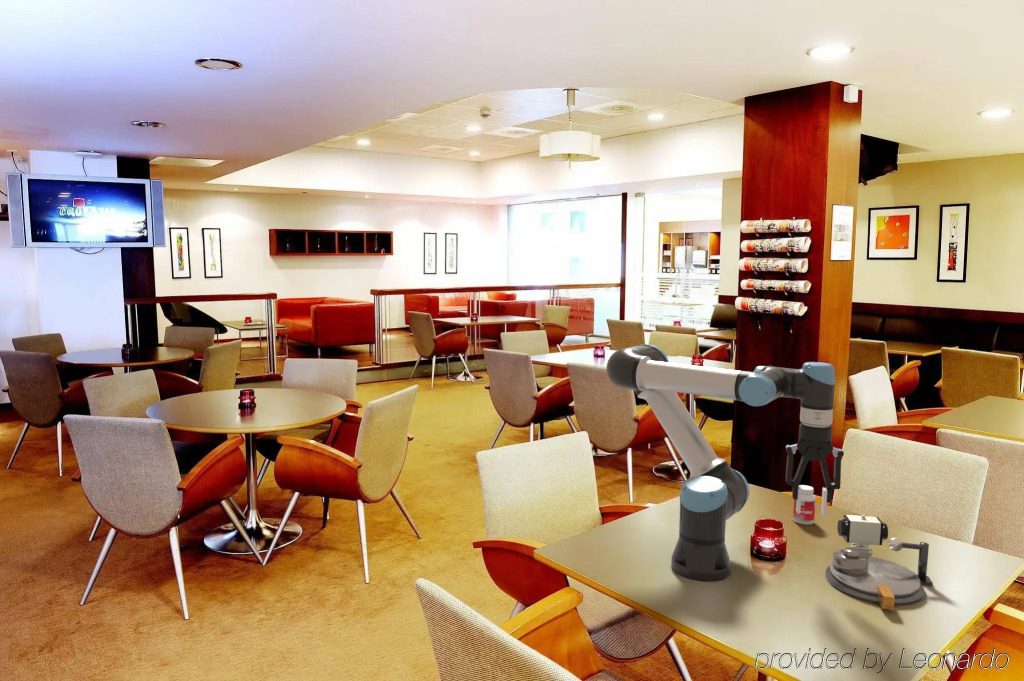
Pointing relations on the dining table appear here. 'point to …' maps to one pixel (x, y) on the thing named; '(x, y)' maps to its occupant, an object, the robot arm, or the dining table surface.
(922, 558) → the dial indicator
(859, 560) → the cover
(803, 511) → the pill bottle
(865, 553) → the pneumatic valve
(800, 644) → the dining table surface
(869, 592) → the turntable
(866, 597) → the turntable base
